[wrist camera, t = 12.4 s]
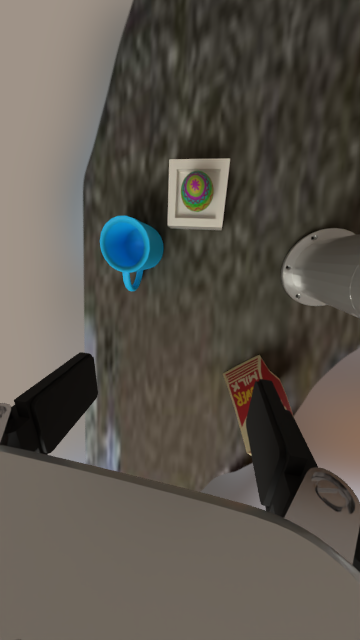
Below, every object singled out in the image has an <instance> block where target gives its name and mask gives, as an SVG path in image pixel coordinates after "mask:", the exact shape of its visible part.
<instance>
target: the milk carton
mask: <svg viewBox="0 0 360 640" xmlns="http://www.w3.org/2000/svg"><path fill="white" fill-rule="evenodd" d="M223 377H224V379H225V382H226V384H227V387H228V390H229V393H230V396H231V399H232V402H233V405H234V408H235V412H236V415H237V418H238V422H239V426H240V429H241V433H242V437H243V440H244V444H245V448H246V451H247V453H248V454H250V455H251V450H250V445H249V439H248V434H247V429H246V418H247V414H248V410H249V405H250V401H251V397H252V392H253V388H254V384H255V381H259V379H264V380H271V381H272V382H273V384H274V386H275V389H276V391H277V393H278V395H279V397H280V399H281V402H282V404H283V406H284V408H285V410H289V411H290V412H291V414H292V411H291V408H290V405H289V402H288V399H287V396H286V393H285V391H284V389H283V386H282V384H281V381H280V379H279V378H278V377H277V376H275V375H274V374H273V373H272V372H271V371H270V370H269V369H268V368H267V366H266V364H265V363H264V361H263V360H262V358H261V356H260V355H257V356H255V357H253V358H251V359H249V360H247V361H245V362H243V363H241V364H239V365H238V366H236V367H234V368H232V369H230V370H228V371H227V372H225V373H223ZM292 415H293V414H292ZM293 417H294V416H293Z"/></svg>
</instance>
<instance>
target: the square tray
mask: <svg viewBox="0 0 360 640" xmlns="http://www.w3.org/2000/svg"><path fill="white" fill-rule="evenodd" d="M229 165H230V158H226V159H169V191H168V226H169V227H170V228H177V229H203V230H222V224H223V216H224V207H225V199H226V190H227V182H228V174H229ZM193 171H202V172H204V173H206V174H207V175H208V176H209V177H210V179H211V180H212V183H213V187H214V194H213V199H212V201H211V203H210V205H209V206H208V207H207V208H206V209H204V210H203V211H200V212H193V211H191V210H189V209H188V208H187V207H186V206H185V205H184V203H183V201H182V198H181V186H182V183H183V180H184V179H185V177H186V176H187V175H188V174H189V173H191V172H193Z"/></svg>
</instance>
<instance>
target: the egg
mask: <svg viewBox="0 0 360 640" xmlns="http://www.w3.org/2000/svg"><path fill="white" fill-rule="evenodd" d="M213 194H214V187H213V183H212V180H211V179H210V177H209V176H208V175H207V174H206V173H204V172H202V171H193V172H191V173H189V174H188V175H187V176H186V177H185V179H184V180H183V183H182V186H181V198H182V201H183V203H184V205H185V206H186V207H187V208H188V209H189V210H191V211H193V212H200V211H203V210H204V209H206V208H207V207H208V206H209V205H210V203H211V201H212V199H213Z"/></svg>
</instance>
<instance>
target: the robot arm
mask: <svg viewBox="0 0 360 640" xmlns="http://www.w3.org/2000/svg"><path fill="white" fill-rule="evenodd" d="M311 237H313V239H312V240H311ZM286 266H288V268H287V269H286ZM281 281H282V284H283V287H284V289H285V291H286V292H287V294H288V295H289V296H290V297H291V298H293V299H294V300H296V301H298V302H300V303H302V304H305V305H309V306H324V305H330V306H332V307H335V308H337V309H339V310H342V311H344V312H346V313H349V314H351V315H353V316H356V317H358V318H360V234H357V235H356V234H354V233H353V232H351V231H348V230H346V229H340V228H328V229H323V230H319V231H316V232H313V233H311V234H309V235H307V236H305V237H303V238H302V239H301V240H299V241H298V242H297V243H296V244H295V245H294V246H293V247H292V248H291V249H290V251H289V252H288V254H287V255H286V257H285V259H284V261H283V265H282V268H281ZM297 294H298V295H297ZM296 295H297V296H296ZM97 395H98V390H97V381H96V373H95V364H94V358H93V357H92V355H91V354H88V353H79V354H77V355H76V356H74V357H73V358H72V359H70V360H69V361H67V362H66V363H65V364H64V365H62V366H60V367H59V368H58V369H56V370H55V371H54V372H52V373H51V374H49V375H48V376H47V377H45V378H44V379H42V380H41V381H40V382H38V383H37V384H35V385H34V386H33V387H31V388H30V389H29V390H27V391H26V392H25V393H23V394H22V395H20V396H19V397H17V398H16V399H15V400H14V402H15V405H14V406H13V407H11V406H10V405H9V404H5V403H0V640H360V502H359V500H358V498H357V496H356V495H355V493H354V492H353V490H352V489H351V488H350V487H349V486H348V485H347V484H346V483H345V482H344V481H343V480H342V479H341V478H339V477H338V476H337V475H335V474H333V473H332V472H330V471H328V470H326V469H323V468H318V466H317V464H316V462H315V460H314V458H313V456H312V454H311V452H310V450H309V448H308V446H307V444H306V442H305V440H304V438H303V436H302V434H301V432H300V429H299V428H298V425H297V423H296V422H295V419H294V417H293V415H292V414H291V412H290V411H289V410H285V408H284V406H283V404H282V402H281V399H280V397H279V395H278V393H277V391H276V389H275V386H274V384H273V382H272V381H271V380H264V379H259V381H255V384H254V388H253V392H252V397H251V401H250V405H249V410H248V414H247V418H246V429H247V434H248V439H249V445H250V450H251V455H252V460H253V466H254V470H255V476H256V482H257V487H258V492H259V497H260V502H261V504H262V505H264V506H266V511H265V510H262V509H259V508H256V507H252V506H249V505H246V504H242V503H239V502H235V501H231V500H228V499H224V498H220V497H216V496H213V495H209V494H205V493H201V492H197V491H193V490H189V489H185V488H181V487H177V486H173V485H169V484H165V483H161V482H157V481H153V480H149V479H145V478H141V477H137V476H133V475H129V474H125V473H120V472H116V471H112V470H108V469H104V468H100V467H96V466H92V465H87V464H83V463H79V462H74V461H70V460H66V459H62V458H57V457H53V456H49V455H47V454H48V453H51V452H52V451H53V450H54V449H55V448H56V446H57V445H58V444H59V443H60V442H61V440H62V439H63V438H64V437H65V436H66V434H67V433H68V432H69V430H70V429H71V428H72V427H73V426H74V425H75V423H76V422H77V421H78V420H79V419H80V417H81V416H82V415H83V414H84V413H85V411H86V410H87V409H88V408H89V407H90V405H91V404H92V403H93V402H94V400H95V399H96V398H97Z"/></svg>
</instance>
